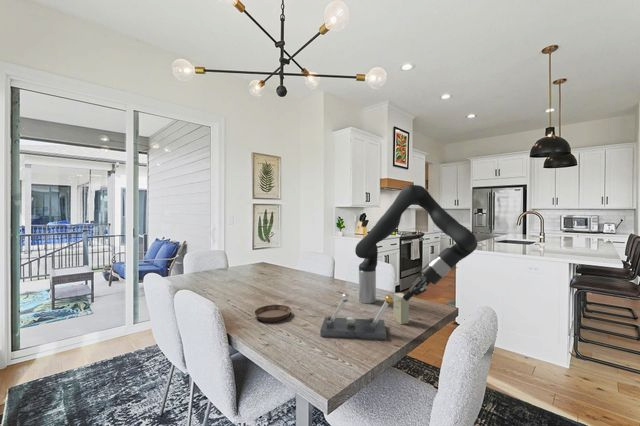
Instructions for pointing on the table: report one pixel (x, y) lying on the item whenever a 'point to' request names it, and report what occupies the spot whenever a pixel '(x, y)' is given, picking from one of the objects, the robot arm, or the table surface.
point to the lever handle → (383, 308)
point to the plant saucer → (272, 312)
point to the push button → (351, 320)
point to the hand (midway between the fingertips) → (404, 299)
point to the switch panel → (353, 329)
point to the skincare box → (401, 309)
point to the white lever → (344, 299)
